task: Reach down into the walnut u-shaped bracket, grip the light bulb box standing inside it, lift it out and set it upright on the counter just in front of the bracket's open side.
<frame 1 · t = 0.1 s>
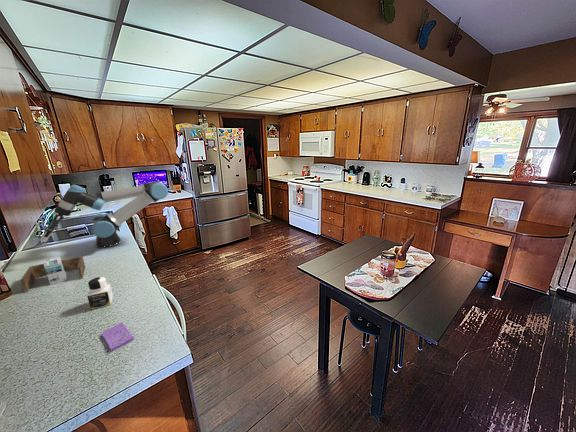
hand: (45, 238, 144), 15 cm above the countertop, tool tilted 35°, fingers open, 13 cm apart
sponges: (118, 338, 86), on the countertop
light bulb box: (58, 279, 126), on the countertop
walnut u-shaped bracket: (58, 278, 127), on the countertop
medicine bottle: (102, 303, 106), on the countertop
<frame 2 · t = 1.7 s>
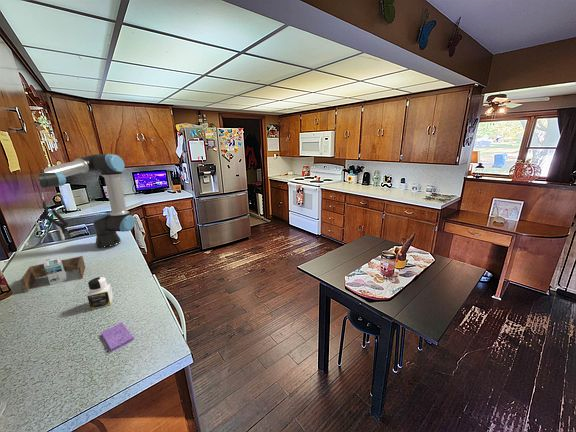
hand: (45, 242, 121), 21 cm above the countertop, tool pointing down, fingers open, 13 cm apart
nothing on the countertop moved.
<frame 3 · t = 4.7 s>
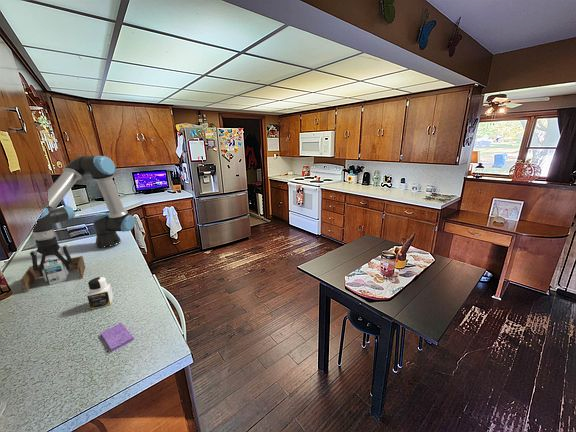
hand: (57, 278, 126), 1 cm above the countertop, tool pointing down, fingers closed on light bulb box, 7 cm apart
light bulb box: (57, 279, 126), on the countertop, touching gripper
everything else where it was.
when the fingers open (2 cm above the countertop, at t = 10.8 s): light bulb box drops 1 cm, on the countertop.
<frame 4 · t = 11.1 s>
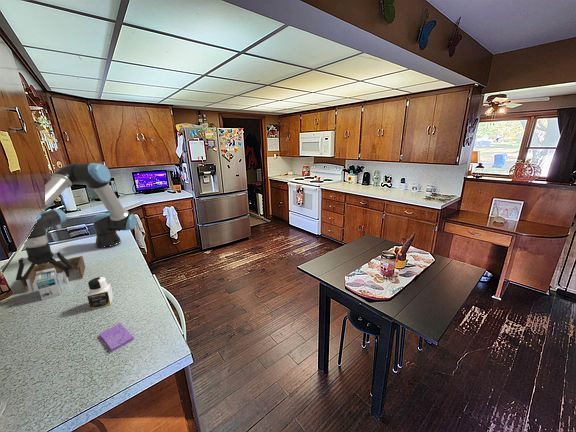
hand: (50, 287, 113), 3 cm above the countertop, tool pointing down, fingers open, 11 cm apart
light bulb box: (51, 293, 114), on the countertop
everything else where it was.
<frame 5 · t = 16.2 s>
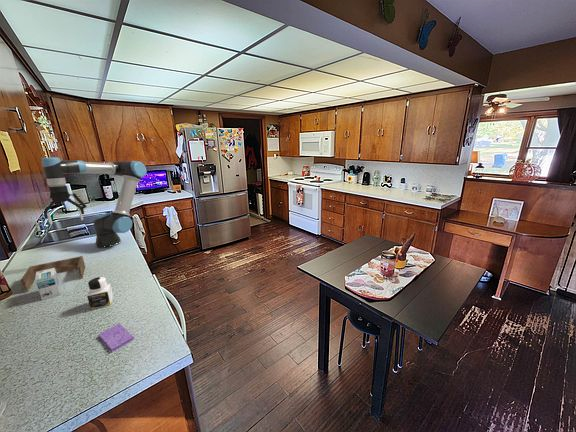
hand: (67, 221, 137), 27 cm above the countertop, tool pointing down, fingers open, 13 cm apart
nothing on the countertop moved.
at the end: light bulb box inside the target area (1.0 cm from its centre), on the countertop; light bulb box tilted 0°; the gripper is holding nothing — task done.
